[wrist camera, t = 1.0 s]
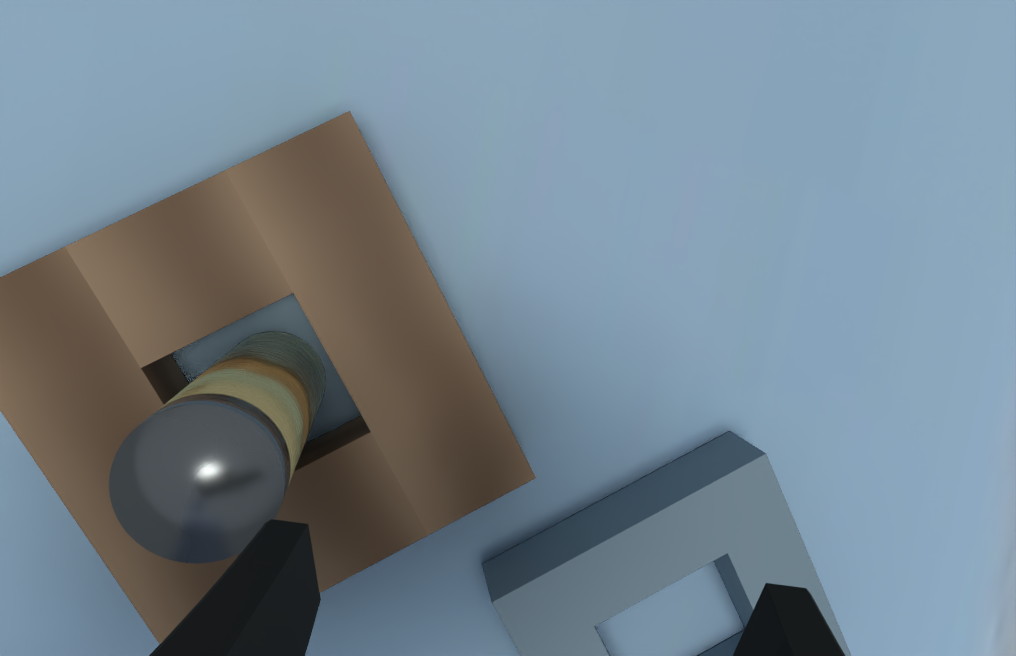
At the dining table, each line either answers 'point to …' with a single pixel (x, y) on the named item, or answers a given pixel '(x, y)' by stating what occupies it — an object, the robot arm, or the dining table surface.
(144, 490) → the spice jar
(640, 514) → the block
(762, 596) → the robot arm
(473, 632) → the dining table surface
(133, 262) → the socket block
